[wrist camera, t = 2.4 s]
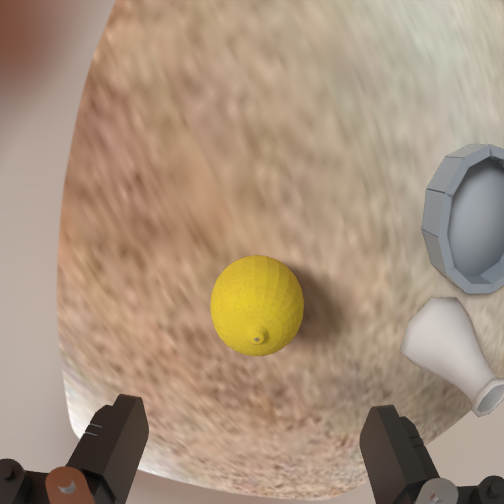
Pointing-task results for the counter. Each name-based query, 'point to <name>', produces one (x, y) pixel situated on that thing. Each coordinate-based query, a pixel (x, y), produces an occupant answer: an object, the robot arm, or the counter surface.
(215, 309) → the lemon
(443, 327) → the flask
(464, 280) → the dish
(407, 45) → the counter surface
